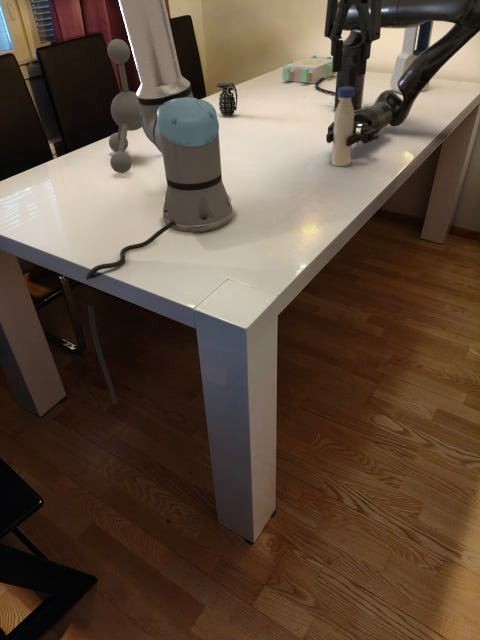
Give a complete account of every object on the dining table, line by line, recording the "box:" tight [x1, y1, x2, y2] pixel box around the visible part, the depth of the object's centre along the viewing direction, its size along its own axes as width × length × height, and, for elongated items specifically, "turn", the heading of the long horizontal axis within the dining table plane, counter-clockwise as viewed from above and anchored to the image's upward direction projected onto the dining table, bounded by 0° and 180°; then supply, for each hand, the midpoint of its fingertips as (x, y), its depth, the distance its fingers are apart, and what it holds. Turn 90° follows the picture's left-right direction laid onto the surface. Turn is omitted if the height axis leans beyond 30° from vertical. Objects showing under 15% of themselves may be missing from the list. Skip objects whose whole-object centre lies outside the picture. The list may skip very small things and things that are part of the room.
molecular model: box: [107, 38, 142, 174], centre depth 130 cm, size 24×22×30 cm
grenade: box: [215, 82, 238, 117], centre depth 166 cm, size 7×6×10 cm
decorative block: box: [282, 55, 337, 84], centre depth 207 cm, size 26×6×20 cm
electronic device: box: [389, 21, 435, 95], centre depth 175 cm, size 12×8×30 cm, turn 105°
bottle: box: [330, 97, 355, 167], centre depth 124 cm, size 5×5×18 cm
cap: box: [338, 86, 355, 98], centre depth 118 cm, size 4×4×2 cm
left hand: (348, 72), depth 116 cm, fingers open, 6 cm apart
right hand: (337, 140), depth 124 cm, fingers closed on bottle, 5 cm apart
